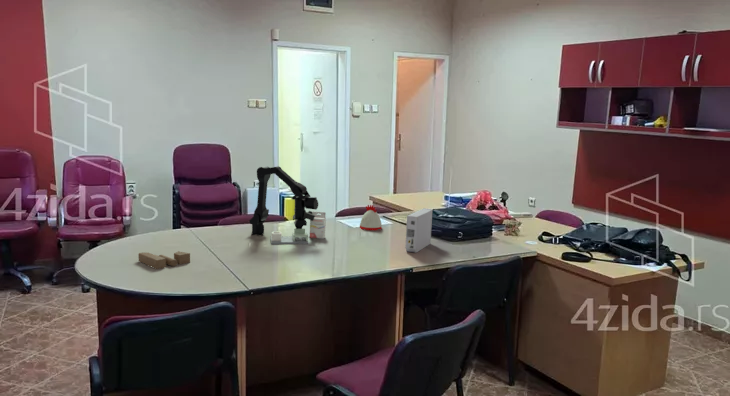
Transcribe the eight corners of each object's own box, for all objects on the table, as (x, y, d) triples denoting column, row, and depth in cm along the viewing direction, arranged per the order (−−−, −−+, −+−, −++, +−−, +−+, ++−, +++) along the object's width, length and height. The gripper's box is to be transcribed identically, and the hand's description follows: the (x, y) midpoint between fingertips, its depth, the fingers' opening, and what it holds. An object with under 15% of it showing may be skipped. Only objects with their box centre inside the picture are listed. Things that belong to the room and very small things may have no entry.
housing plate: (271, 244, 296) (271, 237, 296) (270, 238, 310) (270, 231, 309) (308, 243, 301) (308, 236, 300) (305, 237, 314) (305, 231, 314)
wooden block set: (157, 258, 242) (137, 250, 254) (157, 270, 243) (137, 262, 255) (191, 251, 255) (170, 244, 267) (191, 263, 256) (171, 255, 268)
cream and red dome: (368, 224, 357) (369, 202, 355) (385, 228, 349) (386, 205, 347) (355, 228, 346) (356, 204, 344) (373, 231, 338) (374, 207, 336)
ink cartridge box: (309, 237, 315) (309, 212, 312) (311, 235, 319) (311, 211, 317) (324, 238, 314) (324, 213, 311) (325, 236, 319) (326, 212, 316)
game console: (431, 243, 313) (433, 209, 310) (415, 253, 288) (417, 216, 285) (421, 242, 315) (423, 208, 312) (405, 252, 291) (407, 215, 287)
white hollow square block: (272, 240, 300) (272, 233, 299) (271, 238, 305) (271, 231, 304) (281, 240, 301) (281, 233, 300) (280, 238, 306) (281, 231, 305)
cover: (293, 241, 300) (293, 231, 299) (292, 238, 307) (292, 228, 306) (307, 241, 302) (308, 231, 301) (306, 238, 309) (306, 228, 308)
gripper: (316, 210, 300) (315, 238, 303) (312, 204, 318) (311, 231, 321) (295, 210, 298) (295, 238, 300) (292, 204, 316) (292, 231, 318)
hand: (299, 234), depth 310 cm, fingers closed
